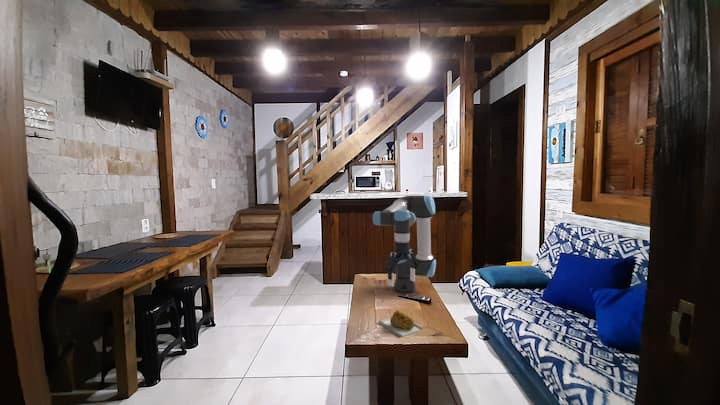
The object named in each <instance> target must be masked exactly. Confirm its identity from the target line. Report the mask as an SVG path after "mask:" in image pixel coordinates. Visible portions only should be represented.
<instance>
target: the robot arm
mask: <svg viewBox="0 0 720 405" xmlns="http://www.w3.org/2000/svg"><path fill="white" fill-rule="evenodd" d="M435 214H436V203H435V200H434V198H433V196H431V195H406V196H405V195H404V196H402V197H400V198H397V199H396V200H394V201H393V203H392V204H391V205H390V206H388V207H387V208H385V209H384V210H382V211H380V210H378V211H374V213H373V214H372V222H373V225H375V226H384V227H387V226H389V227H394V229H393V230H394V236H393V237H394V252H392V251H390V252H389V257H388V259H387V261H386V265H385V267H384V272H386V273H387V280H388V286H390V287H392V288H393V290H394V291H395V292H396V293H400V294H401V293H402V294H403V293H404V294H410V293H414V292H415V291H416V289H417V287H416V283H415V282H416V277H423V278H433V277H434V275H435V271H436V267H437V260H436V259H435V258H434V255H432V245H431V244H432V240H431V237H432V236H431V234H432V233H431V219H432V218H433V215H435ZM415 222H416V234H417V235H416V237H417V238H416V240H417V242H416V244H417V254H416V255H415V249H413V248H411V242H410V240H411V230H410V229H411V228H410V227H411V226H413V225H414V224H415ZM394 270H395V273H394Z"/></svg>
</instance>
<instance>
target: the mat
mask: <svg viewBox="0 0 720 405" xmlns="http://www.w3.org/2000/svg"><path fill="white" fill-rule="evenodd" d="M390 319H391V317H390V318H386V319H383V320H380V319H379V320H378V324H380V325H381V326H383V327H385V329H387V330H388V331H390V332H392V333H394V334H395V335H396V336H397V337H399V338H402V337H406V336H409V335H411V334H415V333H418V332H420V331H423V327H422V326H420V325H419V324H417V323H415V322H414V327H413V328H410V329H409V328H408V329H402V328H401V327H395V326H391V322H390Z"/></svg>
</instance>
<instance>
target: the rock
mask: <svg viewBox="0 0 720 405" xmlns="http://www.w3.org/2000/svg"><path fill="white" fill-rule="evenodd" d="M390 318H391V319H390ZM390 318H389V319H390V322H391V326H395V327H401V328H402V329H408V328H409V329H410V328H413V327H414V323H415V322H414V319H413V318H412V317H411V316H409V315H407V314H405V313H404V312H402V311H400V310H395V311H394V312H393V314H392V316H390Z"/></svg>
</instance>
